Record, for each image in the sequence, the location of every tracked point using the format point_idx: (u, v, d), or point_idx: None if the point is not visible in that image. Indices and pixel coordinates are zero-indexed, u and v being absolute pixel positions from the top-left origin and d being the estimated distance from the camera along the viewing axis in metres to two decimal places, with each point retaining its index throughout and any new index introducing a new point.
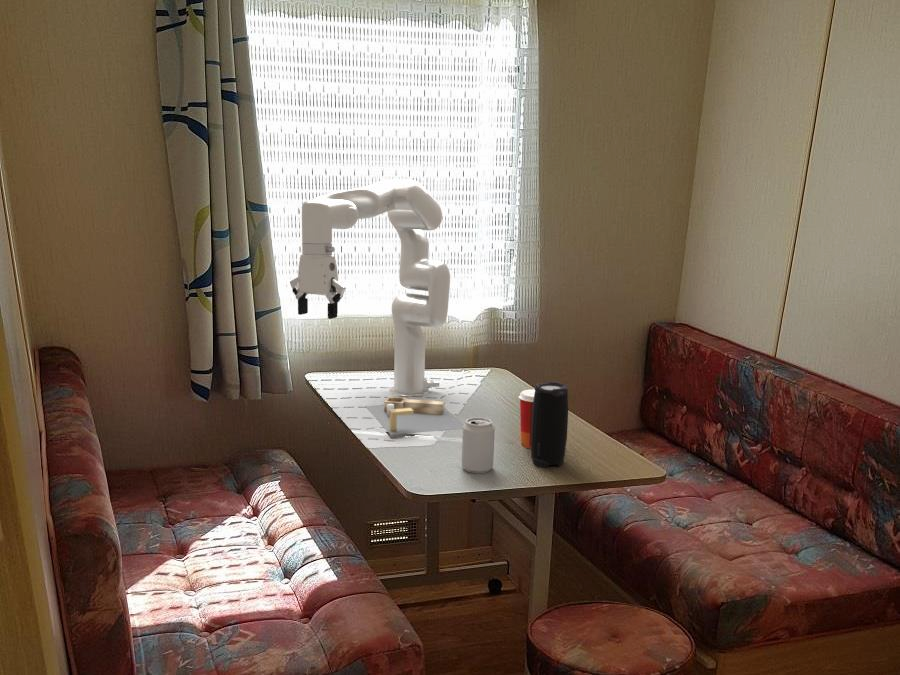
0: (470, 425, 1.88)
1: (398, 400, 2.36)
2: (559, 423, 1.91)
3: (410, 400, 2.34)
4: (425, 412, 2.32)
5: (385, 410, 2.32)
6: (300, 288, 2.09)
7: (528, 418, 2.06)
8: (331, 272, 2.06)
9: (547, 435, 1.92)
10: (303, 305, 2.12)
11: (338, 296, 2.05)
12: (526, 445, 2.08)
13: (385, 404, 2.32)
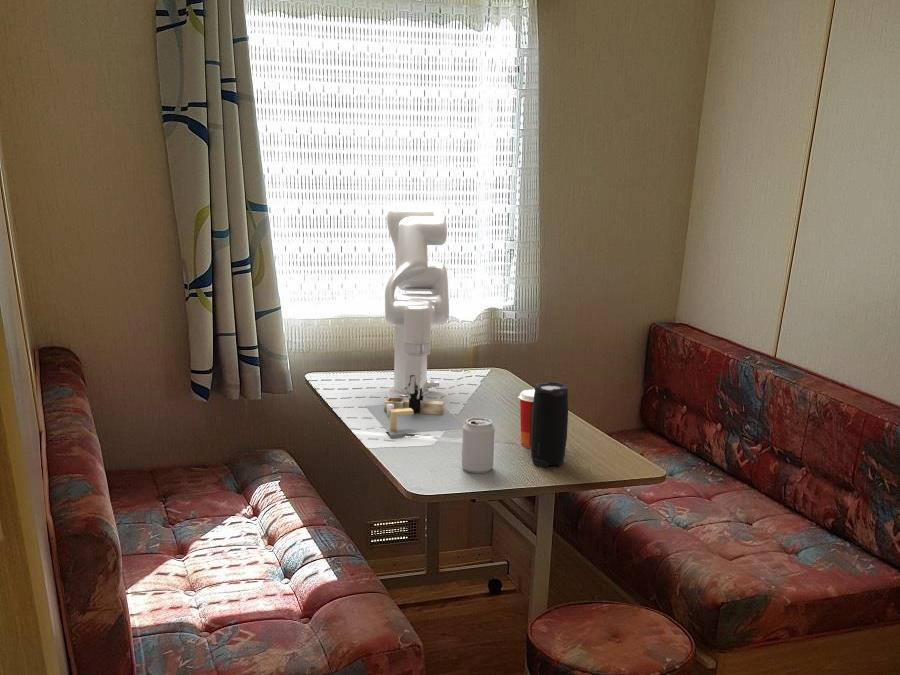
0: (470, 425, 1.88)
1: (398, 400, 2.36)
2: (559, 423, 1.91)
3: None
4: (425, 412, 2.32)
5: (385, 410, 2.32)
6: (420, 386, 2.28)
7: (528, 418, 2.06)
8: None
9: (547, 435, 1.92)
10: None
11: None
12: (526, 445, 2.08)
13: (385, 404, 2.32)
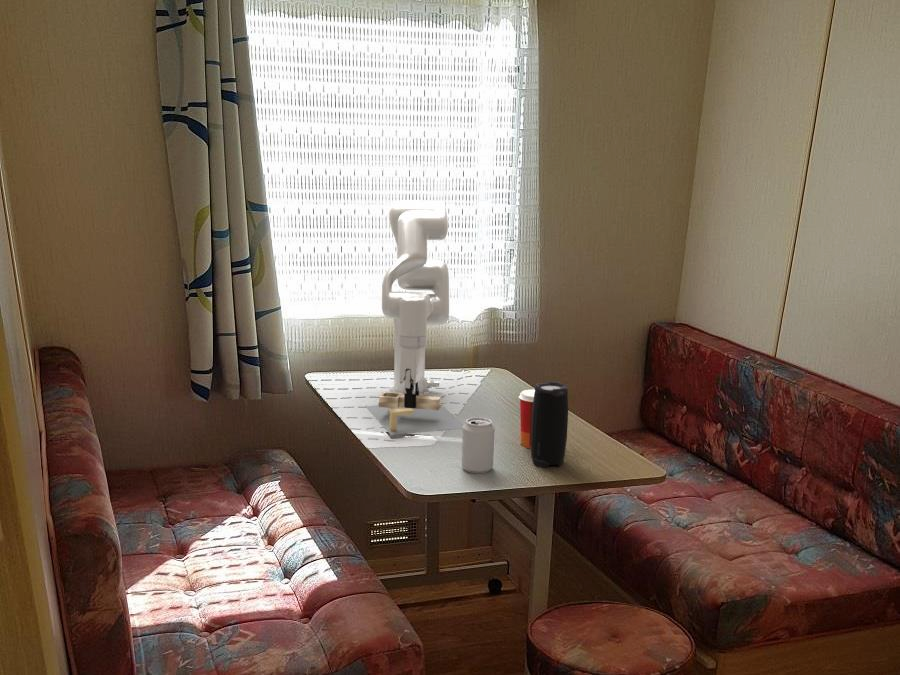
0: (470, 425, 1.88)
1: (393, 395, 2.29)
2: (559, 423, 1.91)
3: None
4: (421, 408, 2.25)
5: (380, 405, 2.25)
6: (416, 380, 2.21)
7: (528, 418, 2.06)
8: None
9: (547, 435, 1.92)
10: None
11: None
12: (526, 445, 2.08)
13: (380, 399, 2.25)
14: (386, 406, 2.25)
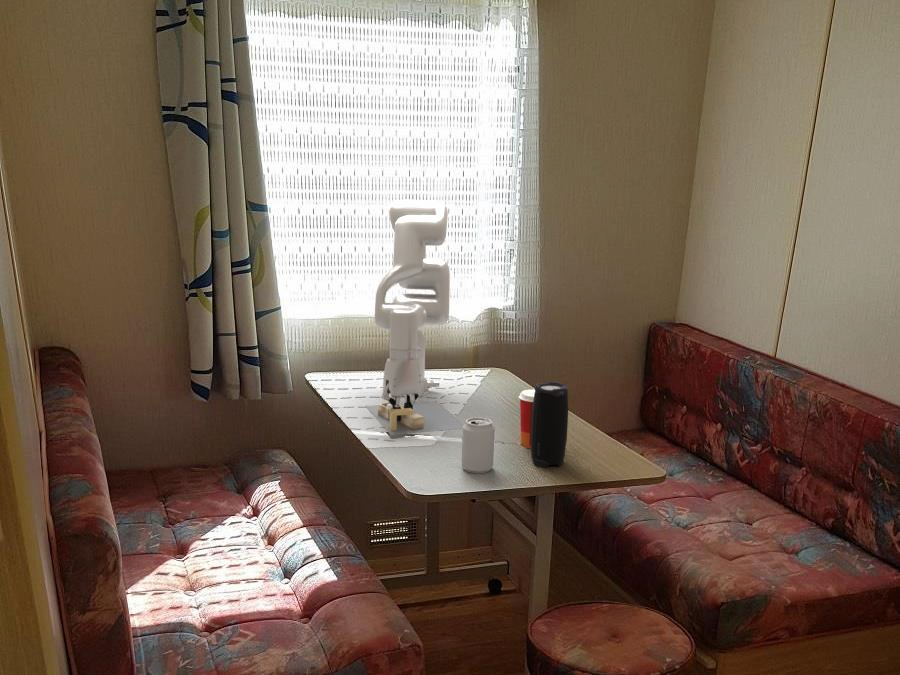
0: (470, 425, 1.88)
1: None
2: (559, 423, 1.91)
3: None
4: (404, 423, 2.21)
5: (378, 413, 2.29)
6: (394, 393, 2.18)
7: (528, 418, 2.06)
8: None
9: (547, 435, 1.92)
10: None
11: (417, 396, 2.25)
12: (526, 445, 2.08)
13: (378, 407, 2.29)
14: (381, 415, 2.27)
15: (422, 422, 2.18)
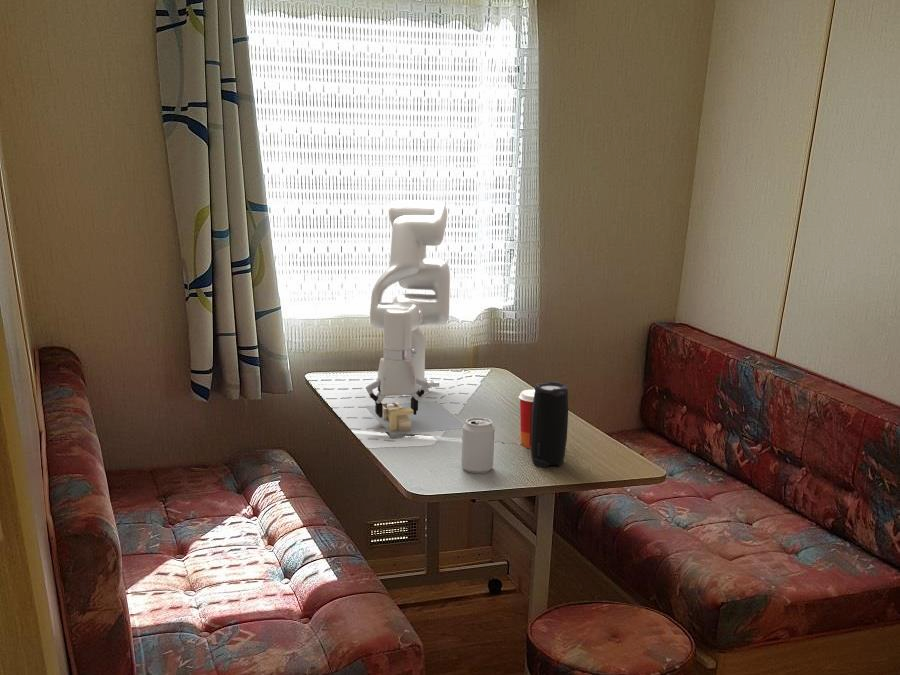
0: (470, 425, 1.88)
1: None
2: (559, 423, 1.91)
3: None
4: None
5: None
6: (385, 392, 2.18)
7: (528, 418, 2.06)
8: None
9: (547, 435, 1.92)
10: None
11: (423, 392, 2.23)
12: (526, 445, 2.08)
13: None
14: None
15: (409, 425, 2.16)
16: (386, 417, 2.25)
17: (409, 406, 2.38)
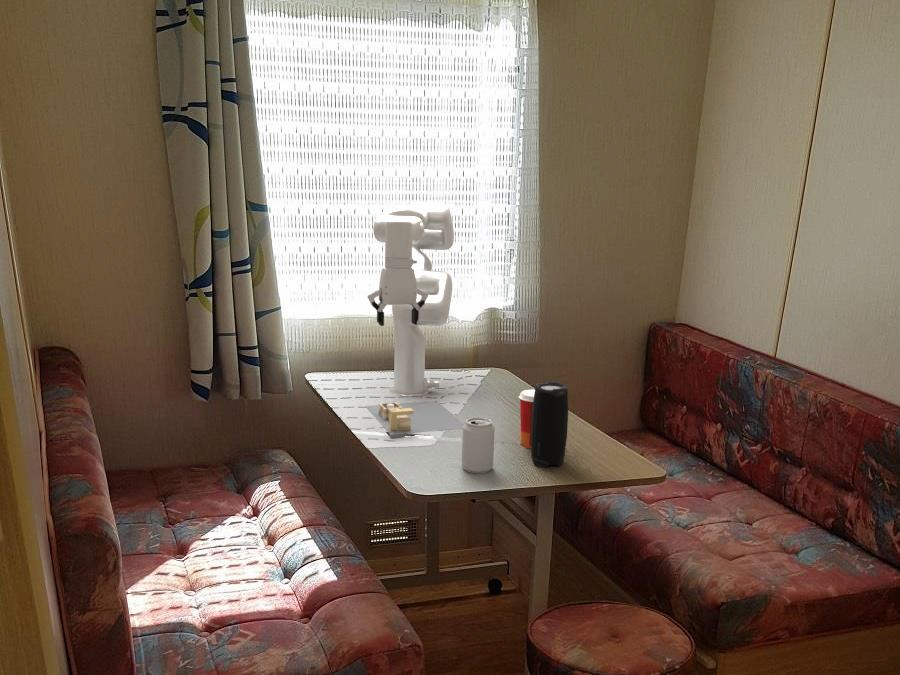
0: (470, 425, 1.88)
1: None
2: (559, 423, 1.91)
3: None
4: None
5: (379, 412, 2.30)
6: (386, 301, 2.24)
7: (528, 418, 2.06)
8: None
9: (547, 435, 1.92)
10: None
11: (424, 303, 2.29)
12: (526, 445, 2.08)
13: (379, 406, 2.29)
14: (380, 414, 2.28)
15: (409, 425, 2.16)
16: (386, 417, 2.25)
17: (409, 406, 2.38)
